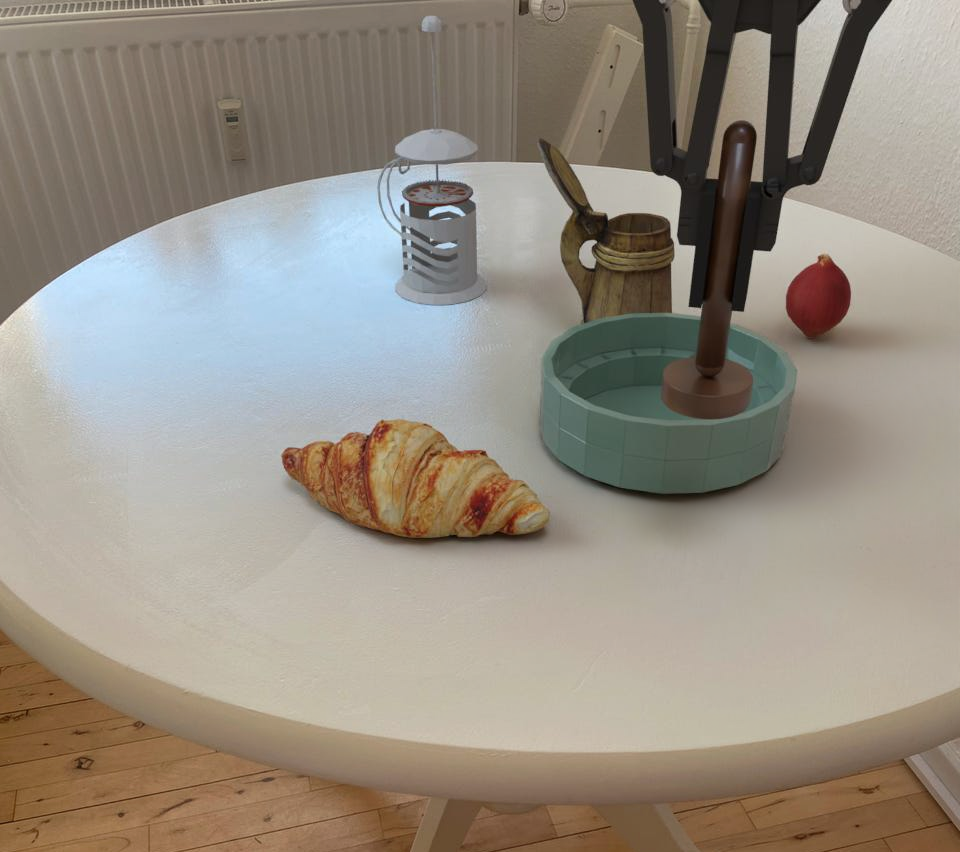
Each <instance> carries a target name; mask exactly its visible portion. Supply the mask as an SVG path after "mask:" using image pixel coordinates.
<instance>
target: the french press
mask: <svg viewBox="0 0 960 852" xmlns="http://www.w3.org/2000/svg"><path fill="white" fill-rule="evenodd" d="M442 24H443V23H442V21H441V19H439V17H438V16H437V15H426V16H425V17H424V18H423V19H422V22H421V31H422V32H425V33H430V40H431V41H430V42H431V43H430V44H431V63H432V64H431V70H432V92H433V93H432V96H433V97H432V98H433V99H432V100H433V123H434V126H433V127H434V128H431V129H422V130H420V131H418V132H415V133H412V134H411V135H408V136H406V137H404V138H403V139H401V141H400V142H399V143H398V144H396V145H395V146H394V153H395V154H396V155H397V156H398V158H394V159H392V160H391V161H390V162H388V163H387V164H386V165H385V166H384V167H383V168H381V171H380V174H379V176H378V180H377V186H376V189H377V197H378V198H377V199H378V205H379V208H380V211H381V214H382V216H383V219H384V220H385V222H386V223H387V224H388V226H389V227H390V228H391V229H392V230H394V231H395V232H396V233H397V235H399V236H400V237H401V249H402V263H403V264H402V266H403V268H402V269H403V275H402V277H400V279H398V281H397V282H396V283H394V288H395V289H394V290H395V293H396V294H397V295H398V296H400V298H402V299H404V300H407V301H410V302H413V303H416V304H422V305H429V306H443V305H445V306H446V305H447V306H448V305H455V304H461V303H465V302H470V301H471V300H474V299H476V298H478V297H480V296H482V295H483V294H484V292H485V291H486V290H487V289H488V285H487V281H486V280H485V278H483V277H482V276H481V275H480V274H478V245H477V244H478V242H477V239H478V238H477V237H478V235H477V232H478V231H477V205H476V202H475V201H473V200H471V198H472V197H473V195H474V189H473V188H472V186H470V185H468V183H464V182H461V181H456V180H454V181H453V180H449V179H448V180H447V179H441V180H440V179H439V166H441V165H442V166H443V165H446V166H447V165H452V164H458V163H462V162H465V161H468V160H471V159H472V158H473V157H475V156H476V154H477V152H478V151H479V149H478V144H476V143H475V142H474V141H472V140H471V139H469V138H468V137H467V136H464V135H462V134H460V133H458V132H456V131H453V130H448V129H443V128H438V127H437V125H438V124H437V123H438V122H437V99H436V95H437V94H436V72H435V71H436V69H435V41H434V40H435V39H434V33H436V32H442V31H443V26H442ZM401 160H404V161H406V162H407V163H406V165H407V167H406V169H405V170H402V163H401V162H400V161H401ZM411 163H413V164H422V165H435V180H434V179H432V180H431V179H429V180H427V179H426V180H422V181H421V180H420V181H417V182H414V183H410V184H408V185H406V186H405V188H403V190H402V191H401V192H402V193H401V195H402V197H403V199H404V200H405V201H407V202H408V213H409V214H406V207H405V206H406V205H405V203H406V202H403V203H402V204H401V205H400V206H399V214H400V215H398V214H397V213H396V210H395V208H394V206H393V203H392V202H393V201H392V199H391V195H390V193H391V192H390V178H391V173H392V172H393V168H394V167H395V166H396V164H397V167H398V172H399V174H400V175H404V174H406V173H407V172H408V171H409V170H410V169H411ZM388 167H390V168H389V170H388V173H387V176H386V192H387V193H386V196H387V201H388V203H389V207H390V208H391V212H392V214H393V216H394V217H395V219H396V220H397V221H398V222H399V224H400V230H398V228H397V227H395V226H394V225H393V224H392V222H390V220H389V219H388V218H387V216H386V215H387V214H386V213H385V211H384V208H383V203H382V197H381V184H382V183H381V182H382V179H383V177H384V173H385V171H386V170H387V169H388ZM449 206H451V207H454V208H457V209H459V210H460V211H461V212H462V213H463V214H464V215H461V214H459V213H456V212H453V211H450V210H447V211H442V212H438V213H435V214H433V215H430V211H432V210H435V209H436V208H442V207H449ZM399 216H400V217H399ZM407 230H408V231H409V232H407ZM408 241H410V245H408ZM449 243H451V244H454V245H455V246H452V247H446V248H442V247H436V246H438V245H443V244H449ZM408 253H409V254H410V255H411V258H410V257H409V255H408ZM409 266H411V269H409Z"/></svg>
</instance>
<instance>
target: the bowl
mask: <svg viewBox="0 0 960 852" xmlns="http://www.w3.org/2000/svg"><path fill="white" fill-rule="evenodd" d="M700 319H701V315H693V314H685V313H683V314H682V313H674V312H672V313H631V314H625V315H619V316H612V317H606V318H600V319H596V320H593V321H590V322H587V323H585V324H582V325H580V324H579V325H577V326H574V327H570V328H568V329H567V330H565V331H564V332H563V333H561V334H560V335H558V336H557V337H556V338H554V339H553V340H551V341H550V342H549V345H548V347H547V348H546V350H545V352H544V354H543V356H542V357H541V359H540V361H541V365H540V399H539V427H540V434H541V439H542V442H543V443H544V445H545V446H546V447H547V448H548V450H549V451H550V452H551V453H552V454H553V456H554V457H555V458H556V459H557V460H558V461H559V462H561V463H562V464H564V465H565V466H568V467H569V468H571V469H572V470H574V471H576V472H578V473H579V474H580V475H582V476H584V477H586V478H590V479H591V480H592V479H593V480H595V481H598V482H601V483H605V484H608V485H611V486H613V487H616V488H619V489H627V490H633V491H640V492H641V491H642V492H647V493H654V494H661V495H666V494H702V493H707V492H711V491H716V490H717V491H718V490H721V489H726V488H730V487H734V486H735V487H736V486H739V485H741V484H743V483H745V482H747V481H749V480H752V479H753V478H755V477H758V476H759V475H761V474H763V473H765V472H767V471H768V470H769V469H770V468H771V467H772V465H774V463H775V462H776V461H777V460H778V459H779V458H780V457H781V455H783V451H784V445H785V440H786V435H787V430H788V425H789V421H790V416H791V411H792V410H791V409H792V405H793V399H794V394H795V392H796V391H795V390H796V384H797V383H796V382H797V375H798V369H797V368H796V366H795V364H794V362H793V361H792V359H791V357H790V355H789V354H788V352H787V351H786V350H784V349H783V348H782V347H780V346H779V345H778V344H776V343H775V342H773V341H772V340H771V339H770V338H768V337H767V336H764V335H763V334H759V333H757V332H755V331H752V330H751V329H748V328H745V327H743V326H742V325H738V324H735V323H730V330H729V337H728V344H727V350H726V357H725V359H728V360H731V361H734V362H737V363H739V364H741V365H743V366H744V367H746V368H747V369H748V370H749V371H750V372H751V373H752V375H753V387H752V393H751V399H750V404H749V406H748V408H747V409H746V410H745V411H744V412H742V413H740V414H738V415H736V416H733V417H729V418H724V419H713V420H712V419H698V418H692V417H688V416H684V415H681V414H678V413H676V412H674V411H672V410H671V409H669V408H668V407H667V406H666V405H665V404H664V403H663V401H662V399H661V389H662V379H663V372H664V369H665V368H666V367H667V366H668V365H669V364H670V363H672V362H674V361H676V360H679V359H683V358H687V357H695V356H696V352H697V344H698V335H699V327H700Z"/></svg>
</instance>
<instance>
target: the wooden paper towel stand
mask: <svg viewBox="0 0 960 852" xmlns="http://www.w3.org/2000/svg"><path fill="white" fill-rule="evenodd" d="M757 140H758V133H757V130H756V127H755V125H753V124H752V123H751V122H750V121H748V120H745V119H740V120H735V121H733V122H732V123H730V124H729V125H728V126H727V127H726V128H725V130H724V132H723V136H722V143H721V151H720V159H719V167H718V168H719V169H718V173H717V174H718V175H717V179H718V182H717V193H716V201H715V209H714V217H713V225H712V233H711V241H710V249H709V257H708V265H707V273H706V281H705V289H704V297H703V303H702V307H701V312H700V316H701V319H700V327H699V335H698V344H697V352H696V356H695V357H687V358H683V359H679V360H676V361H674V362H672V363H670V364H669V365H668V366H667V367H666V368H665V369H664V372H663V379H662V389H661V399H662V401H663V403H664V404H665V405H666V406H667V407H668V408H669V409H671V410H672V411H674V412H676V413H678V414H681V415H684V416H688V417H692V418H698V419H712V420H713V419H724V418H729V417H733V416H736V415H738V414H740V413H742V412H744V411H745V410H746V409H747V408H748V406H749V404H750V399H751V393H752V387H753V375H752V373H751V372H750V371H749V370H748V369H747V368H746V367H744V366H743V365H741V364H739V363H737V362H734V361H731V360H728V359H725V357H726V350H727V344H728V337H729V330H730V323H731V322H732V315H733V311H731V307H732V299H733V292H734V285H735V278H736V271H737V264H738V257H739V250H740V243H741V236H742V229H743V222H744V215H745V208H746V201H747V195H748V190H749V189H750V183H751V181H752V174H753V168H754V162H755V155H756V147H757Z"/></svg>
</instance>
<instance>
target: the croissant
mask: <svg viewBox="0 0 960 852" xmlns="http://www.w3.org/2000/svg"><path fill="white" fill-rule="evenodd" d="M280 456H281V462H282V466H283V469H284V470H285V472H286V473H287V475H288V477H290V478H291V479H293V480H294V481H295V482H298V483H299V484H300V485H301V486H303V488H305V489H306V491H307V492H308V493H309V495H310V496H311V498H312V499H313V500H314V502H317V503H319V505H320V507H323V508H326V509H327V510H328V511H329V512H333V513H336V514H338V515H340V516H341V517H342V518H344V519H345V520H346V521H348V522H350V523H352V524H355V525H357V526H360V527H363V528H367V529H368V528H369V529H371V530H379V531H381V532H384V533H388V534H392V535H394V536H397V537H404V538H413V539H414V538H415V539H416V538H418V539H419V538H420V539H421V538H422V539H423V538H424V539H425V538H427V539H429V538H430V539H432V538H443V537H449V536H453V535H454V536H457V537H458V538H459V537H460V538H475V537H479V536H480V535H493V534H494V533H496V532H501V533H503V534H507V535H510V536H515V535H516V536H517V535H524V534H530V533H534V532H537V531H539V530H541V529H543V528H544V527H546V526H547V525H548V523H549V522H550V510H549V508H546V506H544V505H543V503H542V501H541V499H540V498H538V497H537V494H536V493H535V492H534V491H533V489H531V488H530V487H529V485H528V484H527V483H526V482H525V481H523V480H520V479H512V478H510V477H509V474H508V473H507V472H505V471H504V469H503V468H502V467H501V466H500V464H499V463H498V462H497V461H496V459H493V458H491V457H489V455H488V454H487V451H486V450H484V449H467V450H462V451H461V450H459V449H458V448H457V447H456V446H455V445H453V444H452V443H450V442H449V441H448V439H447V437H446V436H445V435H444V434H443V433H442V432H440V431H439V430H438V429H436V428H433V426H432V425H430V424H429V423H425V422H419V421H412V420H406V419H389V420H387V419H386V420H384V419H381V420H380V421H378V422H377V423H376V424H375V426H374V427H373V429H372V430H371V432H370V433H369V434H367V433H363V432H358V431H356V432H355V431H353V432H348V433H347V434H346V435H344V436H343V437H342V438H341V439H340V441H338V442H336V443H334V442H332V441H330V440H325V441H323V440H322V441H317V440H316V441H314V442H311V443H309V444H306V445H305V446H303V447H302V448H300V447H294V446H292V447H291V446H290V447H286V448H285V449H284V451H283V452H282V453H281V455H280Z"/></svg>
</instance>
